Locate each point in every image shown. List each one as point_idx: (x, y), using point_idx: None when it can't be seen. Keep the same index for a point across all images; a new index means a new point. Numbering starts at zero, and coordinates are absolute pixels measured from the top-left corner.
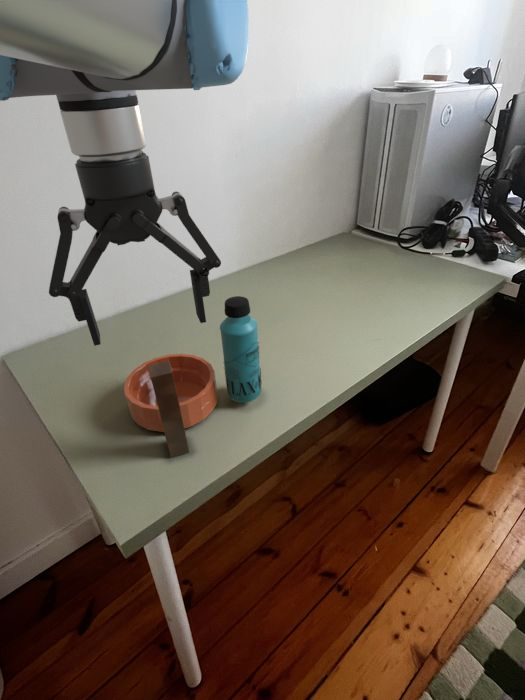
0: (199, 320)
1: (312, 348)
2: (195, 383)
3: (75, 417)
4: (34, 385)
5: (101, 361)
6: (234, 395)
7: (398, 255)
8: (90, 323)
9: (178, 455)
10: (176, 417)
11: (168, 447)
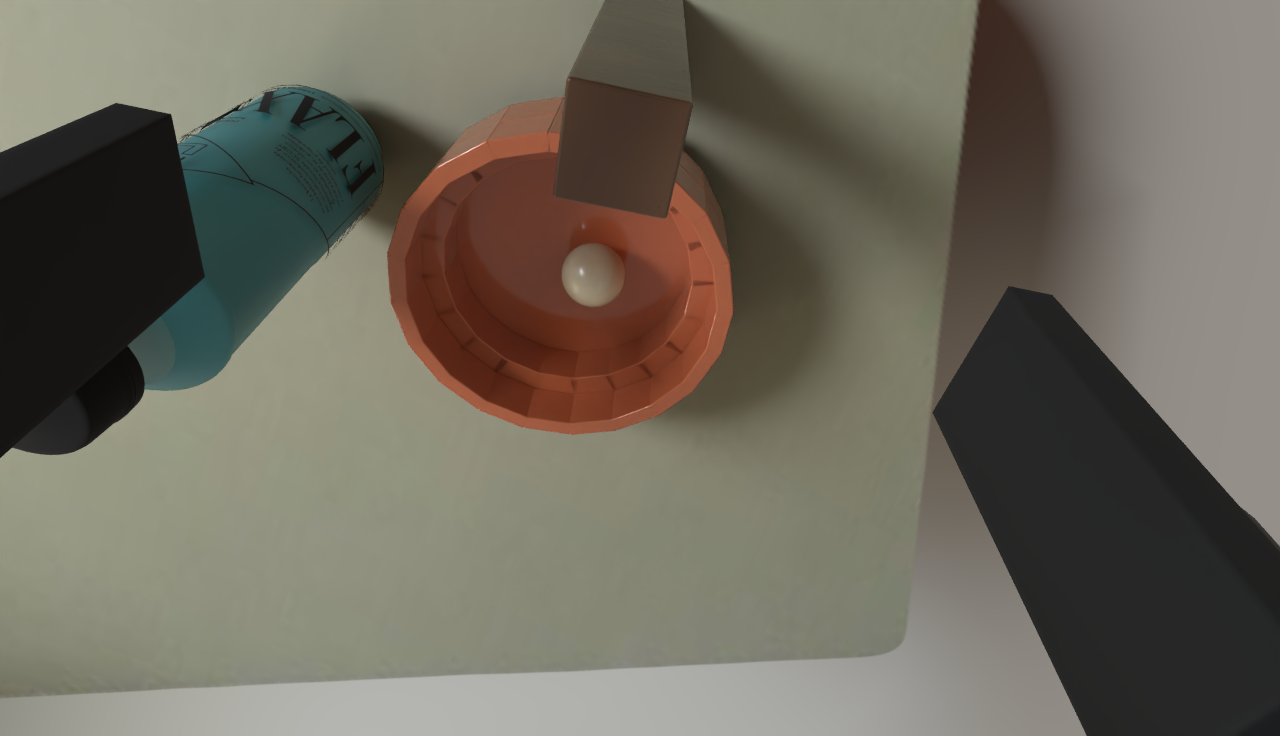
0: (180, 164)
1: None
2: (480, 298)
3: (862, 361)
4: (896, 530)
5: (706, 532)
6: (357, 130)
7: None
8: (1138, 419)
9: None
10: (621, 20)
11: (683, 6)
